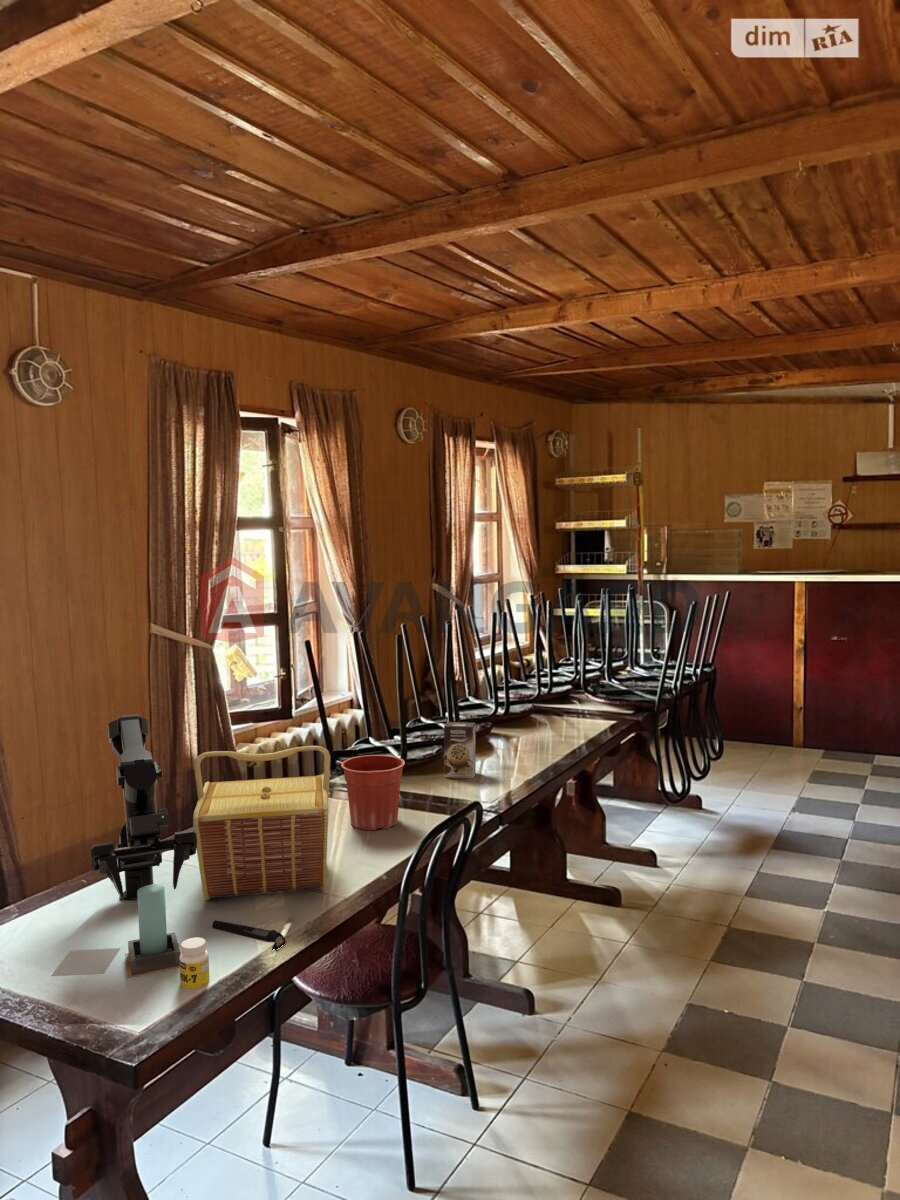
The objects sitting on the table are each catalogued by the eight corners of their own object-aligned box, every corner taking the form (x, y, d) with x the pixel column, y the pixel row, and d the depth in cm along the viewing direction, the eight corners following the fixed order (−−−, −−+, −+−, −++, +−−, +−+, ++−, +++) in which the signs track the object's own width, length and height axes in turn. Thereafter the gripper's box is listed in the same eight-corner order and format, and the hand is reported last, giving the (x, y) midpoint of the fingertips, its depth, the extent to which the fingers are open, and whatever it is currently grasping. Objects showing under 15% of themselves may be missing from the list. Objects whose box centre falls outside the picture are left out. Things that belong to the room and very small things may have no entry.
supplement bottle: (174, 994, 150) (172, 946, 149) (192, 980, 154) (190, 934, 153) (198, 999, 148) (196, 951, 147) (215, 985, 152) (213, 938, 151)
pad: (70, 958, 163) (70, 950, 163) (120, 956, 163) (120, 948, 163) (51, 983, 154) (51, 975, 154) (104, 981, 154) (103, 973, 154)
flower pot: (397, 809, 242) (395, 751, 241) (413, 829, 227) (412, 767, 225) (337, 816, 237) (335, 758, 236) (350, 837, 222) (348, 774, 220)
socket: (125, 961, 161) (124, 940, 161) (179, 950, 165) (178, 930, 164) (128, 986, 152) (127, 964, 152) (185, 974, 156) (183, 952, 156)
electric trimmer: (221, 931, 174) (220, 915, 173) (287, 944, 167) (286, 928, 167) (208, 939, 170) (207, 923, 170) (275, 953, 164) (274, 937, 163)
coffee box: (444, 777, 271) (442, 726, 270) (447, 771, 277) (446, 721, 276) (473, 778, 269) (472, 726, 268) (476, 772, 276) (475, 721, 274)
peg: (147, 953, 161) (143, 884, 160) (171, 953, 161) (168, 884, 159) (136, 966, 156) (132, 895, 155) (161, 966, 156) (158, 895, 155)
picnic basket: (191, 913, 181) (184, 769, 178) (206, 864, 206) (200, 738, 203) (336, 900, 185) (331, 760, 182) (332, 854, 211) (328, 731, 208)
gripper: (88, 802, 162) (92, 883, 152) (193, 788, 169) (204, 864, 160) (89, 831, 169) (94, 909, 160) (190, 816, 177) (200, 890, 168)
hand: (148, 892), depth 162 cm, fingers open, 9 cm apart
